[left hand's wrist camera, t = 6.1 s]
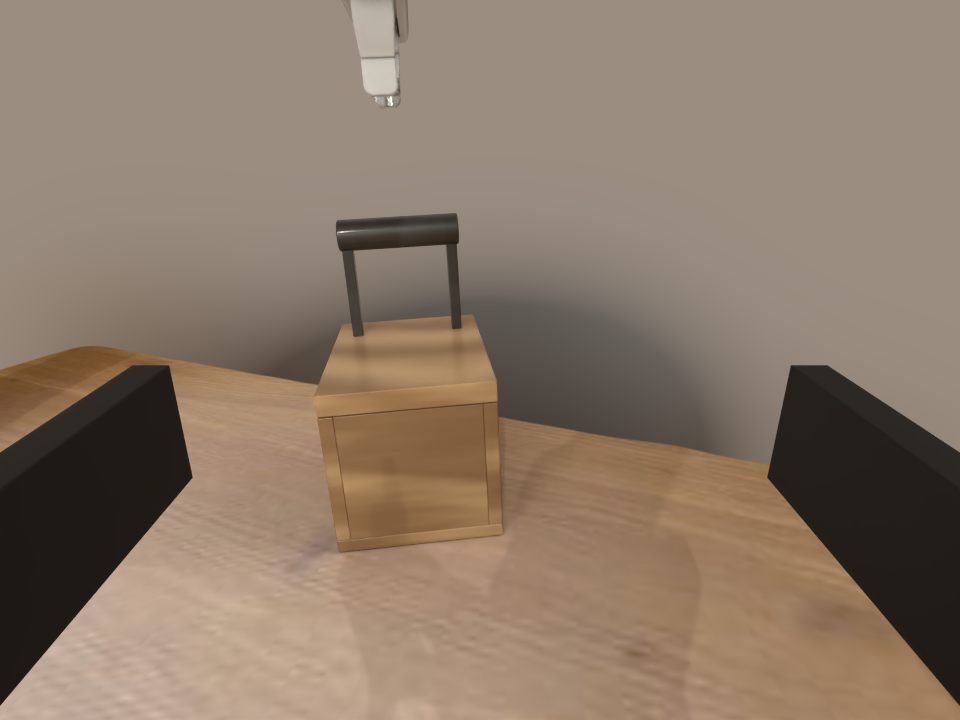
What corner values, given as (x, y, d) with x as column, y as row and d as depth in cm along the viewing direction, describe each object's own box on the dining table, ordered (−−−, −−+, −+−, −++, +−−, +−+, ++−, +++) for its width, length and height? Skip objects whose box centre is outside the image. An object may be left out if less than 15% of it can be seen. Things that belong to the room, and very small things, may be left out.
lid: (344, 340, 44) (327, 216, 41) (473, 330, 45) (467, 207, 42) (317, 418, 31) (289, 246, 28) (498, 401, 32) (491, 233, 29)
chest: (358, 447, 47) (343, 343, 44) (480, 436, 48) (474, 333, 44) (338, 553, 35) (317, 418, 31) (503, 535, 35) (497, 402, 32)
